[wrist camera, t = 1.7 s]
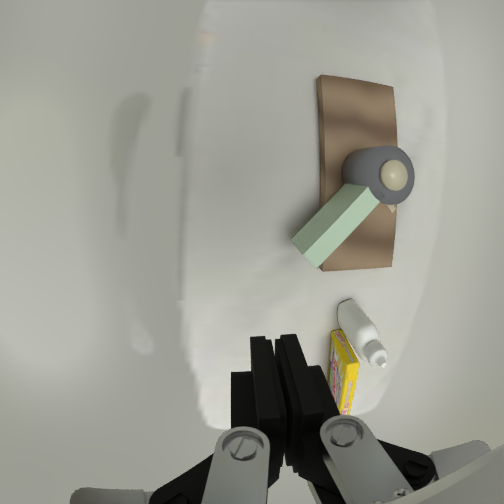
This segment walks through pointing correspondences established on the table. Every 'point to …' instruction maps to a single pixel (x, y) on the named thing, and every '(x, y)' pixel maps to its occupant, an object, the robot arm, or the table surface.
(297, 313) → the table surface
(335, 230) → the grey and green piece
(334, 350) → the candy box
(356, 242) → the post base
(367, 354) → the eye dropper bottle
